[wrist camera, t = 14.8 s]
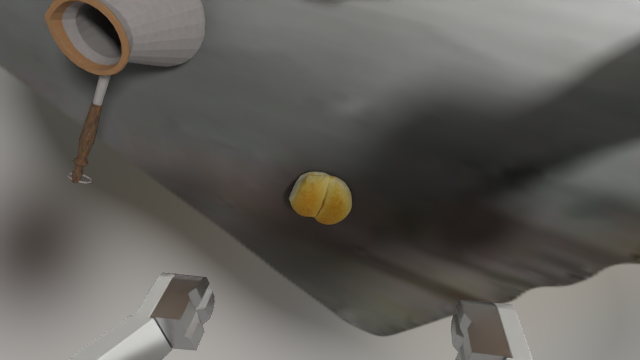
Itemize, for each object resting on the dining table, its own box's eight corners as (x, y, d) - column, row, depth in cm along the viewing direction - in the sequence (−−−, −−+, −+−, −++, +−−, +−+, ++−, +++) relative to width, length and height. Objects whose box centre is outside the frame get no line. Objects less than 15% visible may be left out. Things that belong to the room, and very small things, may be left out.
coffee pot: (114, -81, 34) (-24, -80, 22) (226, -24, 36) (153, 5, 24) (105, 101, 47) (14, 164, 35) (188, 137, 49) (128, 208, 37)
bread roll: (338, 221, 55) (336, 240, 52) (285, 199, 54) (280, 217, 50) (363, 185, 50) (363, 203, 47) (306, 160, 49) (302, 177, 46)
